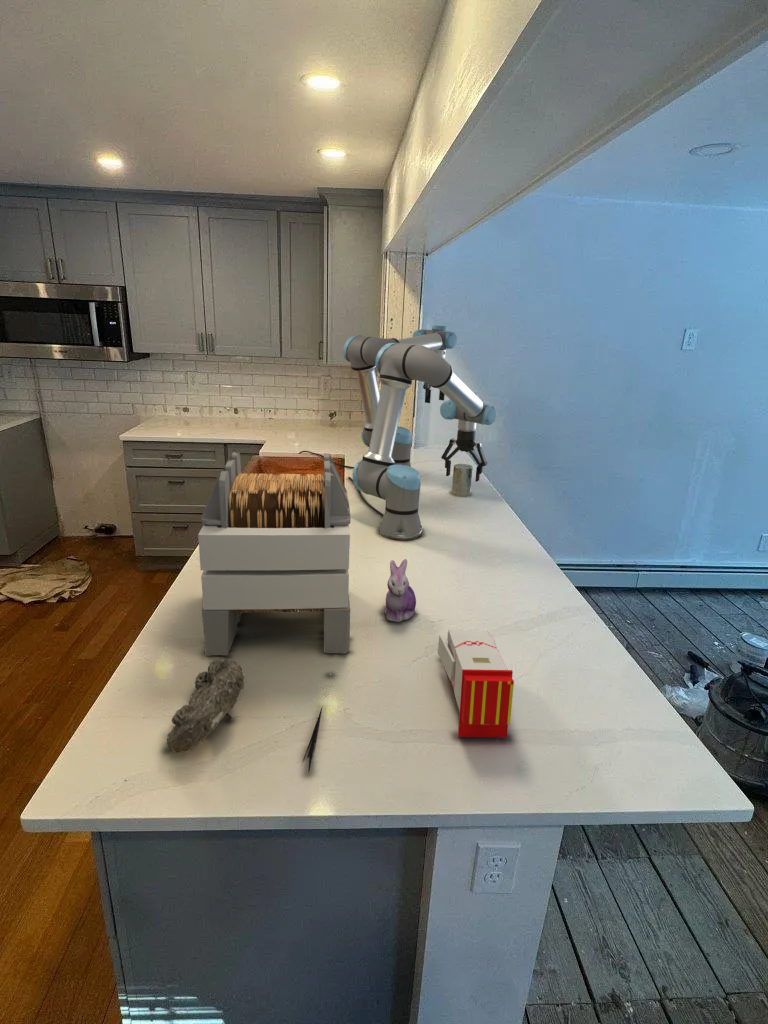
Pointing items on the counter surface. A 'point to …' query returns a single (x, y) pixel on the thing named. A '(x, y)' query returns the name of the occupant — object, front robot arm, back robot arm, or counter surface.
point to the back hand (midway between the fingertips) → (434, 401)
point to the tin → (462, 479)
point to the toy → (478, 682)
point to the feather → (313, 740)
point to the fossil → (206, 705)
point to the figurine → (399, 594)
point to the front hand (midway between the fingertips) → (462, 478)
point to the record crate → (275, 551)
